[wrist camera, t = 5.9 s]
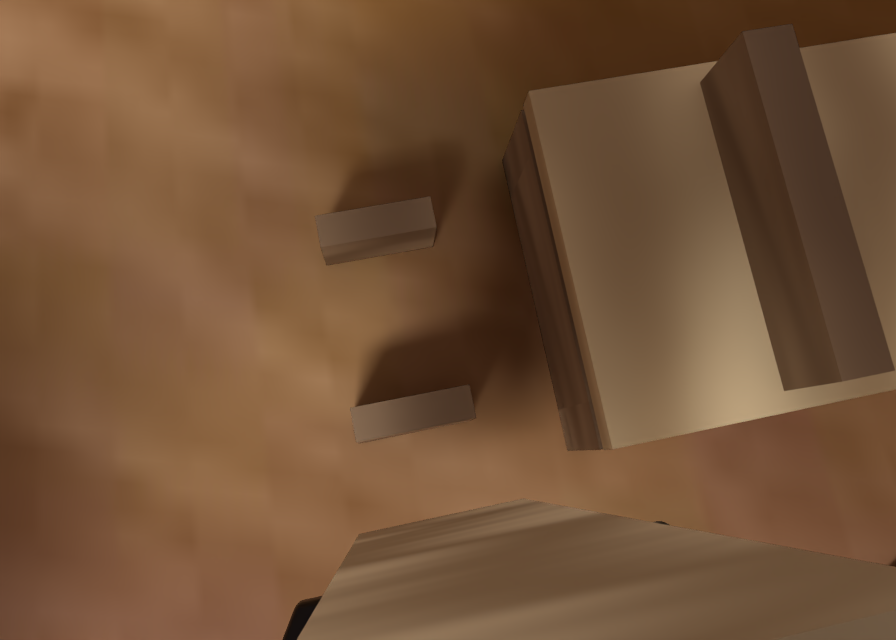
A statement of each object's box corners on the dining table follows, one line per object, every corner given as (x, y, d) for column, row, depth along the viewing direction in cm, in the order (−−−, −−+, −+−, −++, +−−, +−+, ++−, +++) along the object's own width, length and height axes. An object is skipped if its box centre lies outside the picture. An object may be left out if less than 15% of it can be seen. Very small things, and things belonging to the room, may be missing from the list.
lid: (603, 449, 19) (646, 448, 15) (523, 105, 20) (548, 39, 17) (1150, 334, 20) (1290, 310, 17) (1040, 22, 22) (1151, -52, 18)
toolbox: (368, 492, 22) (364, 499, 18) (313, 192, 23) (300, 145, 20) (1002, 358, 24) (1105, 342, 20) (916, 91, 25) (999, 33, 22)
